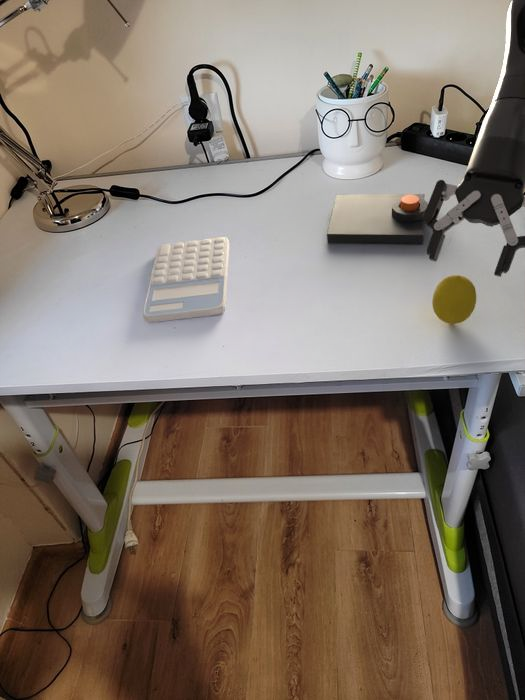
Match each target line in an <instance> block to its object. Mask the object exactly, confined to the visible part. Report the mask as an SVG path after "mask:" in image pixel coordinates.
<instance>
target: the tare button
mask: <svg viewBox="0 0 525 700" xmlns="http://www.w3.org/2000/svg"><path fill="white" fill-rule="evenodd" d="M418 208H419V197H418V196H416V195H405V196H403V197H402V198H401V209H402V210H405V211H414V210H417V209H418Z"/></svg>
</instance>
